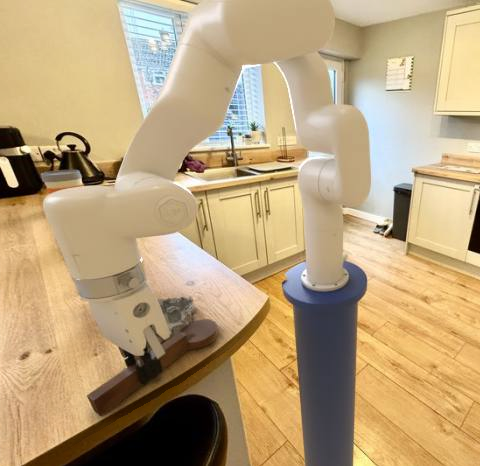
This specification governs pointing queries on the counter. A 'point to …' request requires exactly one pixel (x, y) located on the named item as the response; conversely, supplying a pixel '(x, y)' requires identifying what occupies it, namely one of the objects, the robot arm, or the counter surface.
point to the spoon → (128, 379)
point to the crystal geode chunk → (176, 313)
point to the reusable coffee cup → (61, 180)
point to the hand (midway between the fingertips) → (147, 374)
